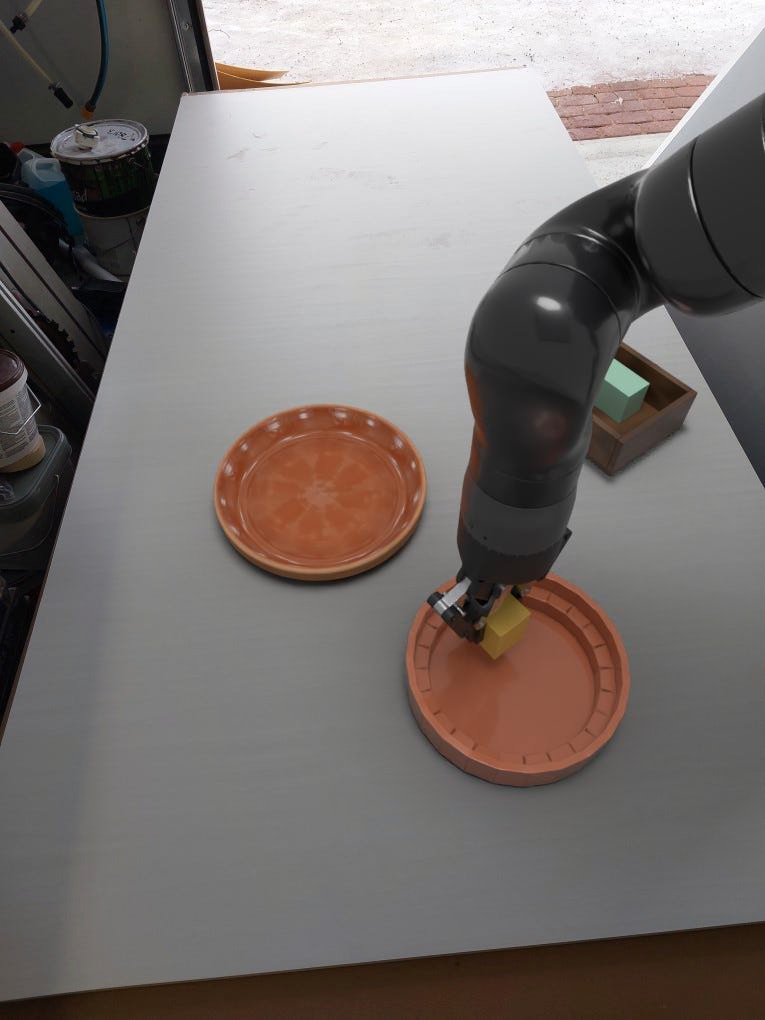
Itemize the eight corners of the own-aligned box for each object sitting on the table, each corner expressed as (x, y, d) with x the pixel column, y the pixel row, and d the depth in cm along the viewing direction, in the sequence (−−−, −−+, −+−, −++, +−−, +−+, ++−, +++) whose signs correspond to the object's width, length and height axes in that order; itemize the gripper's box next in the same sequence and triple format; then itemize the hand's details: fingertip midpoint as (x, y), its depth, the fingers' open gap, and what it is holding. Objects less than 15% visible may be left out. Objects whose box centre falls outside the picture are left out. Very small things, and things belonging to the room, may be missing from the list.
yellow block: (524, 637, 62) (531, 613, 58) (494, 660, 60) (500, 637, 57) (482, 594, 64) (487, 569, 61) (453, 615, 63) (456, 591, 59)
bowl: (661, 697, 63) (677, 678, 59) (505, 837, 56) (513, 825, 53) (513, 555, 72) (519, 531, 69) (364, 661, 65) (362, 640, 62)
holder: (681, 426, 83) (698, 392, 78) (610, 476, 78) (623, 443, 74) (590, 361, 90) (601, 326, 85) (520, 404, 85) (527, 370, 81)
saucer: (467, 498, 77) (470, 477, 74) (315, 632, 67) (311, 614, 64) (328, 397, 86) (326, 375, 83) (178, 501, 77) (169, 481, 74)
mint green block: (639, 410, 83) (650, 383, 80) (618, 424, 82) (629, 396, 79) (604, 385, 86) (613, 358, 82) (584, 398, 85) (593, 370, 81)
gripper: (474, 600, 44) (456, 701, 58) (625, 491, 49) (575, 608, 62) (401, 524, 47) (401, 636, 61) (548, 429, 52) (517, 553, 66)
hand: (489, 621), depth 62 cm, fingers closed on yellow block, 3 cm apart
